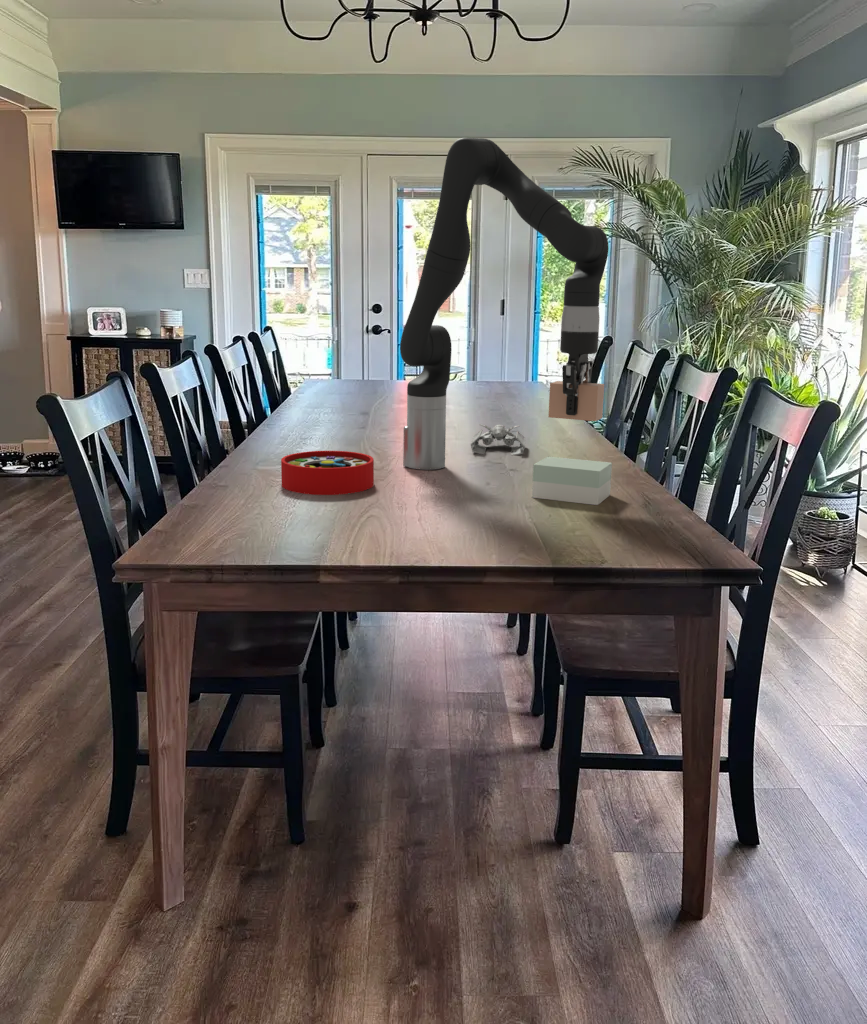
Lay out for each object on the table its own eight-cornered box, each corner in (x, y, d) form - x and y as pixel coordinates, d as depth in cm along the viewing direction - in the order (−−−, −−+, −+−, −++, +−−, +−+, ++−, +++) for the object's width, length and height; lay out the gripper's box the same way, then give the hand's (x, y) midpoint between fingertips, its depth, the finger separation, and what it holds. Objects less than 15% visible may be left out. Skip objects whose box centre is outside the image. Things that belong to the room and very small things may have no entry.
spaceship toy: (469, 456, 238) (470, 432, 236) (474, 443, 257) (475, 420, 255) (524, 458, 236) (525, 434, 235) (525, 444, 256) (526, 422, 254)
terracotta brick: (595, 421, 187) (598, 386, 186) (548, 417, 191) (550, 383, 190) (602, 418, 192) (604, 383, 190) (555, 414, 196) (557, 380, 194)
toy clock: (261, 461, 198) (318, 447, 215) (262, 488, 200) (318, 472, 216) (338, 472, 189) (391, 456, 205) (338, 500, 190) (391, 482, 207)
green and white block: (531, 497, 194) (533, 464, 192) (546, 487, 203) (548, 456, 201) (597, 505, 188) (599, 471, 187) (610, 495, 197) (612, 462, 195)
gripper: (588, 331, 179) (583, 419, 183) (607, 328, 192) (602, 410, 196) (551, 330, 182) (547, 416, 186) (572, 326, 195) (568, 407, 199)
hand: (575, 412), depth 191 cm, fingers closed on terracotta brick, 5 cm apart
